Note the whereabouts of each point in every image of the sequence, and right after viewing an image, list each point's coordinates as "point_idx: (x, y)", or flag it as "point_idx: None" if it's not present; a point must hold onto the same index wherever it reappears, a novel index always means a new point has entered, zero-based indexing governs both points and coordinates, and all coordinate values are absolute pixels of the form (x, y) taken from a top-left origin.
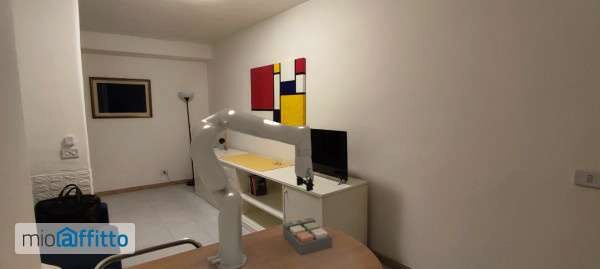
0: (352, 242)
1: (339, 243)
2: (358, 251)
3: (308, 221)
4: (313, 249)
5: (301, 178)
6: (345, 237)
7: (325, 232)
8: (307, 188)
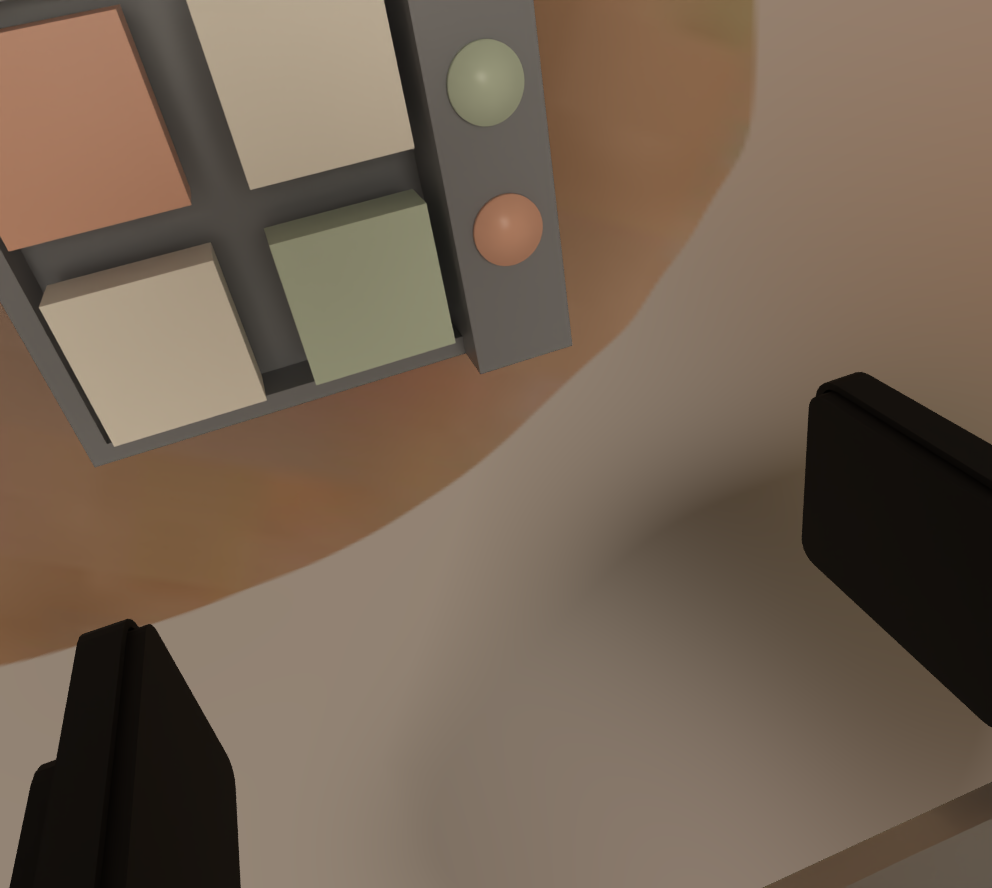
0: (190, 588)
1: (184, 485)
2: (4, 605)
3: (472, 286)
4: None
5: (975, 663)
6: (297, 552)
7: (123, 426)
8: (76, 733)
